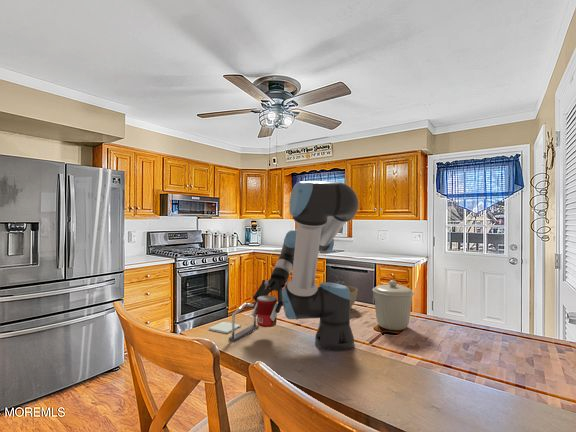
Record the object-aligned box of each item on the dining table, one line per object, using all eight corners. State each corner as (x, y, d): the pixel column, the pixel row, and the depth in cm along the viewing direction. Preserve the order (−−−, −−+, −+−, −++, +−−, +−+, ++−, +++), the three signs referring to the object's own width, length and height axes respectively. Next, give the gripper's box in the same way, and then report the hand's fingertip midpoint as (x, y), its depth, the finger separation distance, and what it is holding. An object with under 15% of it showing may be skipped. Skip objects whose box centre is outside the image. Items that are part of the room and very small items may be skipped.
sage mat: (241, 326, 145) (241, 324, 145) (227, 333, 136) (227, 331, 136) (223, 323, 150) (223, 321, 150) (208, 329, 141) (208, 328, 141)
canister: (407, 321, 155) (407, 277, 155) (419, 334, 137) (419, 285, 137) (369, 319, 157) (369, 276, 157) (375, 333, 139) (375, 283, 139)
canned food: (276, 327, 129) (276, 300, 129) (256, 327, 129) (256, 299, 129) (277, 321, 136) (277, 295, 137) (258, 321, 137) (258, 295, 137)
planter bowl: (321, 306, 179) (321, 286, 179) (345, 303, 186) (346, 284, 186) (338, 314, 164) (338, 293, 164) (363, 310, 171) (363, 290, 171)
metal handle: (258, 328, 144) (259, 298, 144) (234, 342, 128) (234, 308, 128) (253, 327, 145) (253, 297, 145) (228, 340, 129) (228, 307, 129)
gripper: (305, 278, 142) (288, 326, 127) (264, 275, 151) (244, 318, 137) (300, 268, 137) (282, 316, 123) (258, 265, 147) (237, 309, 132)
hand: (262, 317), depth 130 cm, fingers closed on canned food, 8 cm apart
